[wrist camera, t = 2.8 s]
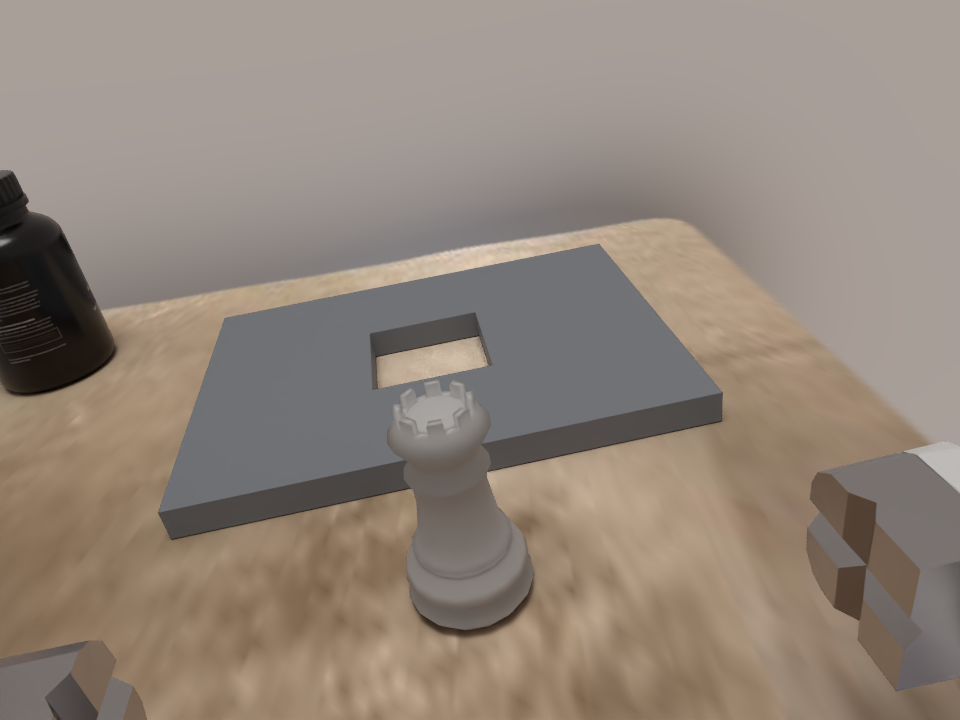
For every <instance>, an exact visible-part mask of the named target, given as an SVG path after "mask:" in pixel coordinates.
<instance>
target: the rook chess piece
mask: <svg viewBox="0 0 960 720" xmlns="http://www.w3.org/2000/svg"><path fill="white" fill-rule="evenodd" d="M424 386H425V390H426V394H424V395H422V396H419V397H417V398H416V394H415V391H414V390H413V389H411V388H408V389H407V390H405V391H404V392H402V393H401V394H400V395H398V396H399V400H400V404H395V405H392V415H393V419H394V420H393V422H392V423H391V425H390V427H389V428H388V430H387V444H388V446H389V447H390V448H391V450H392V451H393V453H394V454H396V455H397V456H399V457H401V458H402V459H404V460H406V461H407V463H406V465H405V466H404V480H405V481H406V483H407V484H408V486H409V487H410V488H411V489H413V491H414V495H415V499H416V505H417V518H418V527H417V529H416V531H415V533H414V535H413V542H412V544H411V546H410V548H409V550H408V552H407V580H408V581H409V583H410V598H411V600H412V601H413V603H414V605H415V606H416V608H417V610H418V611H419V613H420V614H421V615H423V616H425V617H426V618H428V619H429V620H431V621H433V622H434V623H436V624H438V625H440V626H444V627H448V628H455V629H461V630H472V629H478V628H483V627H489V626H491V625H492V624H494V623H496V622H498V621H500V620H502V619H503V618H505V617H507V616H508V615H510V614H511V613H512V612H513V611H514V610H515V609H516V607H517V606H518V605H519V604H520V603H521V602H522V600H523V599H524V598H525V597H526V596H527V595H528V592H529V589H530V586H531V582H532V579H533V576H534V573H533V568H532V563H531V559H530V555H529V554H528V549H527V544H526V540H525V538H524V536H523V534H522V532H521V531H520V530H519V529H518V528H517V527H516V525H515V524H514V523H513V522H512V521H511V520H510V519H509V518H508V517H507V516H506V515H505V513H504V512H503V511H502V510H501V509H500V508H498V506H497V504H496V501H495V498H494V496H493V493H492V490H491V488H490V485H489V482H488V479H487V475H486V474H487V471H488V469H489V467H490V464H491V462H490V456H489V452H488V451H487V450H486V449H485V448H484V447H483V446H482V445H481V443H482V442H483V440H484V439H485V438H486V435H487V433H488V431H489V429H490V427H491V420H490V415H489V412H488V411H487V410H486V409H485V408H484V407H482V406H481V405H480V404H479V403H478V402H476V401H475V400H474V394H473V391H469V392H467V389H466V384H465V383H462V382H459V381H456V380H453V381H452V382H451V383H450V384H449V387H450V391H441V386H440V381H439V379H436V380H431V381H425V382H424Z"/></svg>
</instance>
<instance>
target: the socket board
mask: <svg viewBox="0 0 960 720" xmlns="http://www.w3.org/2000/svg"><path fill="white" fill-rule="evenodd" d="M478 335H479V337H480V340H481V343H482V346H483V349H484V352H485V355H486V358H487V361H488V364H489V366H487V367H482V368H477V369H472V370H467V371H463V372H458V373H453V374H448V375H443V376H438V377H434V378H429V379H424V380H419V381H414V382H409V383H405V384H400V385H395V386H390V387H385V388H380V389H377V371H376V356H380V355H385V354H390V353H395V352H400V351H405V350H409V349H414V348H419V347H424V346H429V345H434V344H439V343H444V342H449V341H454V340H459V339H463V338H468V337H473V336H478ZM436 379H439V381H440V386H441V391H450V387H449V384H450V383H451V382H452V381H453V380H456V381H459V382H462V383H465V384H466V389H467V392H469V391H473V394H474V400H475V401H476V402H478V403H479V404H480V405H481V406H482V407H484V408H485V409H486V410H487V411H488V412H489V415H490V420H491V427H490V429H489V431H488V433H487V435H486V438H485V439H484V440H483V442H482V443H481V445H482V446H483V447H484V448H485V449H486V450H487V451H488V452H489V456H490V462H491V464H490V467H489V469H488V471H491V470H495V469H500V468H505V467H509V466H514V465H519V464H523V463H528V462H532V461H537V460H542V459H546V458H551V457H556V456H560V455H565V454H570V453H574V452H579V451H584V450H588V449H593V448H598V447H602V446H607V445H611V444H616V443H621V442H625V441H630V440H635V439H639V438H644V437H649V436H653V435H658V434H663V433H667V432H672V431H677V430H681V429H686V428H690V427H695V426H700V425H704V424H709V423H714V422H718V421H722V396H723V392H722V391H721V390H720V389H719V388H718V386H717V385H716V384H715V383H714V381H713V380H712V379H711V378H710V377H709V375H708V374H707V373H706V372H705V371H704V369H703V368H702V367H701V366H700V365H699V363H698V362H697V361H696V360H695V359H694V357H693V356H692V355H691V354H690V353H689V351H688V350H687V349H686V348H685V347H684V345H683V344H682V343H681V342H680V341H679V339H678V338H677V337H676V336H675V335H674V333H673V332H672V331H671V330H670V329H669V327H668V326H667V325H666V324H665V323H664V321H663V320H662V319H661V318H660V317H659V315H658V314H657V313H656V312H655V311H654V309H653V308H652V307H651V306H650V305H649V303H648V302H647V301H646V300H645V299H644V297H643V296H642V295H641V294H640V292H639V291H638V290H637V289H636V288H635V286H634V285H633V284H632V283H631V282H630V280H629V279H628V278H627V277H626V276H625V274H624V273H623V272H622V271H621V270H620V268H619V267H618V266H617V265H616V264H615V262H614V261H613V260H612V259H611V258H610V256H609V255H608V254H607V253H606V252H605V250H604V249H603V248H602V247H601V246H600V244H595V245H590V246H585V247H580V248H575V249H570V250H565V251H560V252H555V253H550V254H545V255H540V256H535V257H530V258H525V259H520V260H515V261H510V262H505V263H500V264H495V265H490V266H485V267H480V268H475V269H469V270H464V271H459V272H454V273H449V274H444V275H439V276H434V277H429V278H424V279H419V280H414V281H409V282H404V283H399V284H394V285H389V286H384V287H379V288H374V289H369V290H364V291H359V292H354V293H348V294H343V295H338V296H333V297H328V298H323V299H318V300H313V301H308V302H303V303H298V304H293V305H288V306H283V307H278V308H273V309H268V310H263V311H258V312H253V313H248V314H243V315H238V316H233V317H227V318H225V319H224V322H223V325H222V328H221V330H220V333H219V336H218V339H217V342H216V345H215V348H214V351H213V354H212V357H211V360H210V362H209V365H208V368H207V371H206V374H205V377H204V380H203V383H202V386H201V389H200V392H199V395H198V397H197V400H196V403H195V406H194V409H193V412H192V415H191V418H190V421H189V424H188V427H187V429H186V432H185V435H184V438H183V441H182V444H181V447H180V450H179V453H178V456H177V459H176V462H175V464H174V467H173V470H172V473H171V476H170V479H169V482H168V485H167V488H166V491H165V494H164V496H163V499H162V502H161V505H160V508H159V511H158V514H159V516H160V518H161V520H162V522H163V524H164V526H165V528H166V530H167V532H168V534H169V536H170V538H171V539H175V538H179V537H184V536H189V535H193V534H198V533H202V532H207V531H212V530H216V529H221V528H226V527H230V526H235V525H240V524H244V523H249V522H254V521H258V520H263V519H268V518H272V517H277V516H281V515H286V514H291V513H295V512H300V511H305V510H309V509H314V508H319V507H323V506H328V505H333V504H337V503H342V502H347V501H351V500H356V499H360V498H365V497H370V496H374V495H379V494H384V493H388V492H393V491H398V490H402V489H407V488H410V487H409V486H408V484H407V483H406V481H405V480H404V466H405V465H406V463H407V461H406V460H404V459H402V458H401V457H399V456H397V455H396V454H394V453H393V451H392V450H391V448H390V447H389V446H388V444H387V430H388V428H389V427H390V425H391V423H392V422H393V420H394V419H393V415H392V405H395V404H400V400H399V396H398V395H400V394H401V393H402V392H404V391H405V390H407V389H408V388H411V389H413V390H414V391H415V394H416V398H417V397H419V396H422V395H424V394H426V390H425V386H424V382H425V381H431V380H436Z"/></svg>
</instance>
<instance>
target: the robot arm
mask: <svg viewBox="0 0 960 720" xmlns="http://www.w3.org/2000/svg"><path fill="white" fill-rule="evenodd" d="M810 500H811V501H812V502H813V504H814V505H815V506H816V507H817V508H818V510H819V511H820V513H819V514H818V515H817V517H816V518H815V519H814V520H813V522H812V523H811V524H810V525H809V527H808V528H807V547H806V550H807V554H808V558H809V562H810V565H811V569H812V573H813V575H814V577H815V579H816V581H817V583H818V585H819V587H820V589H821V590H822V592H823V593H824V595H825V596H826V597H827V599H828V600H829V602H830V603H831V604H832V606H833V607H834V608H835V609H837V610H839V611H841V612H843V613H845V614H847V615H849V616H851V617H853V618H855V619H857V620H859V625H858V641H859V643H860V644H861V645H862V647H863V648H864V649H865V651H866V652H867V653H868V655H869V656H870V657H871V659H872V660H873V661H874V663H875V664H876V665H877V667H878V668H879V669H880V671H881V672H882V673H883V675H884V676H885V677H886V679H887V680H888V681H889V683H890V684H891V685H892V687H893V688H894V689H895V691H900V690H905V689H910V688H914V687H919V686H923V685H928V684H933V683H937V682H942V681H947V680H951V679H956V678H960V446H958V445H956V444H952V443H950V442H947V441H944V442H940V443H936V444H932V445H928V446H924V447H919V448H915V449H911V450H907V451H903V452H902V453H895V454H891V455H887V456H883V457H879V458H875V459H870V460H866V461H862V462H858V463H854V464H850V465H845V466H841V467H837V468H833V469H829V470H825V471H820V472H818V473H817V474H816V476H815V478H814V479H813V481H812V484H811V494H810ZM115 663H116V659H115V658H114V656H113V655H112V653H111V652H110V651H109V649H108V648H107V646H106V645H105V644H104V642H103V641H85V642H80V643H75V644H70V645H65V646H60V647H56V648H51V649H46V650H41V651H36V652H31V653H26V654H21V655H17V656H12V657H7V658H2V659H0V720H147V717H146V714H145V710H144V707H143V703H142V700H141V699H140V697H139V695H138V694H137V692H136V690H135V689H134V687H133V686H132V685H129V684H127V683H125V682H123V681H120V680H118V679H116V678H113V677H111V675H112V672H113V669H114V666H115Z"/></svg>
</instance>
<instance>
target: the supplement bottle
mask: <svg viewBox="0 0 960 720" xmlns="http://www.w3.org/2000/svg"><path fill="white" fill-rule="evenodd" d="M28 202H29V200H28V198H27V196H26V194H25V193H24V192H23V191H22V189H21V186H20V184H19V182H18V180H17V178H16V176H15V175H14V173H13V172H12V171H8V170H1V171H0V383H1V384H2V385H3V386H4V387H5V388H7V389H8V390H11V391H14V392H18V393H34V392H41V391H46V390H50V389H54V388H57V387H60V386H63V385H66V384H68V383H71V382H73V381H76V380H78V379H80V378H82V377H84V376H86V375H88V374H89V373H91V372H93V371H94V370H96V369H97V368H98V367H100V366H101V365H102V364H104V363H105V362H106V361H107V360H108V359H109V357H110V356H111V354H112V352H113V350H114V339H113V337H112V334H111V332H110V330H109V328H108V325H107V323H106V321H105V319H104V317H103V315H102V313H101V310H100V308H99V306H98V304H97V303H96V300H95V298H94V296H93V294H92V292H91V290H90V287H89V285H88V283H87V281H86V279H85V277H84V275H83V272H82V270H81V268H80V266H79V264H78V262H77V260H76V258H75V255H74V253H73V251H72V249H71V247H70V245H69V243H68V241H67V239H66V237H65V234H64V233H63V231H62V229H61V227H60V226H59V224H57V223H56V222H55V221H54V220H53V219H51V218H50V217H48V216H45V215H43V214H38V213H34V212H30V211H28V209H27V207H26V204H27V203H28Z"/></svg>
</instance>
